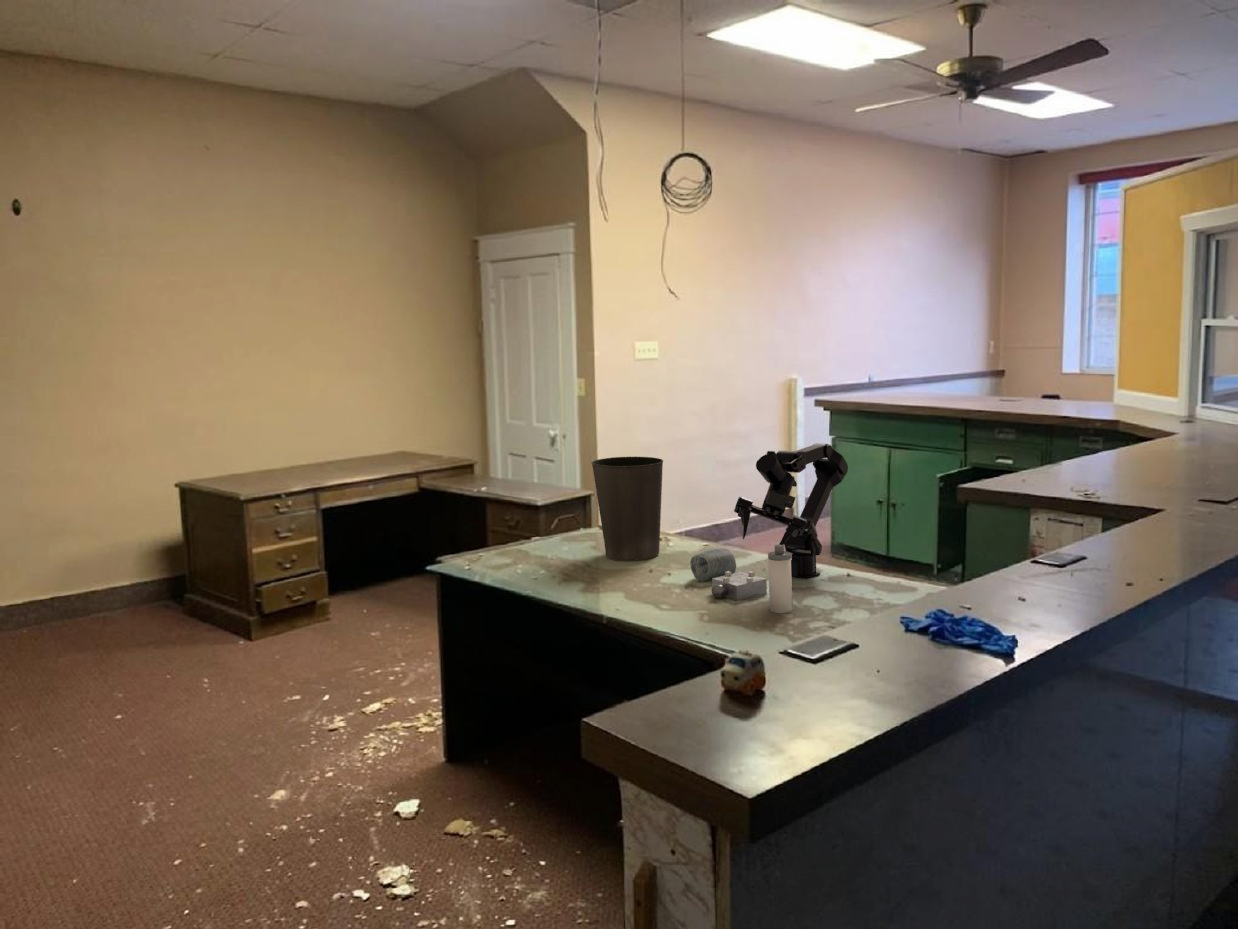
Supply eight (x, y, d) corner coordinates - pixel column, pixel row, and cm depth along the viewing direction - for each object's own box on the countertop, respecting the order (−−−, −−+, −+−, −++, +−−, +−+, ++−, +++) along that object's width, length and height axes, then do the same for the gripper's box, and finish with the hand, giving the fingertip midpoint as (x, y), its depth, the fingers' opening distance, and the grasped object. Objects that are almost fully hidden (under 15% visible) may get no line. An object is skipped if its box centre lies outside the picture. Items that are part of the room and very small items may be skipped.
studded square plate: (741, 586, 248) (741, 568, 248) (766, 593, 240) (766, 575, 239) (703, 595, 241) (702, 576, 241) (727, 603, 233) (727, 584, 232)
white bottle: (781, 605, 229) (779, 542, 227) (797, 610, 224) (795, 545, 222) (765, 609, 226) (762, 545, 224) (780, 614, 221) (778, 549, 219)
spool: (702, 575, 249) (699, 540, 253) (685, 584, 257) (682, 550, 261) (745, 579, 255) (741, 545, 259) (726, 588, 262) (723, 555, 266)
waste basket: (582, 553, 298) (577, 460, 294) (636, 543, 308) (631, 453, 304) (627, 568, 275) (621, 468, 271) (683, 557, 285) (678, 460, 281)
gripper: (749, 468, 237) (729, 521, 231) (818, 493, 235) (801, 547, 229) (743, 485, 247) (724, 536, 241) (810, 509, 245) (793, 561, 239)
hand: (760, 544), depth 237 cm, fingers open, 9 cm apart
